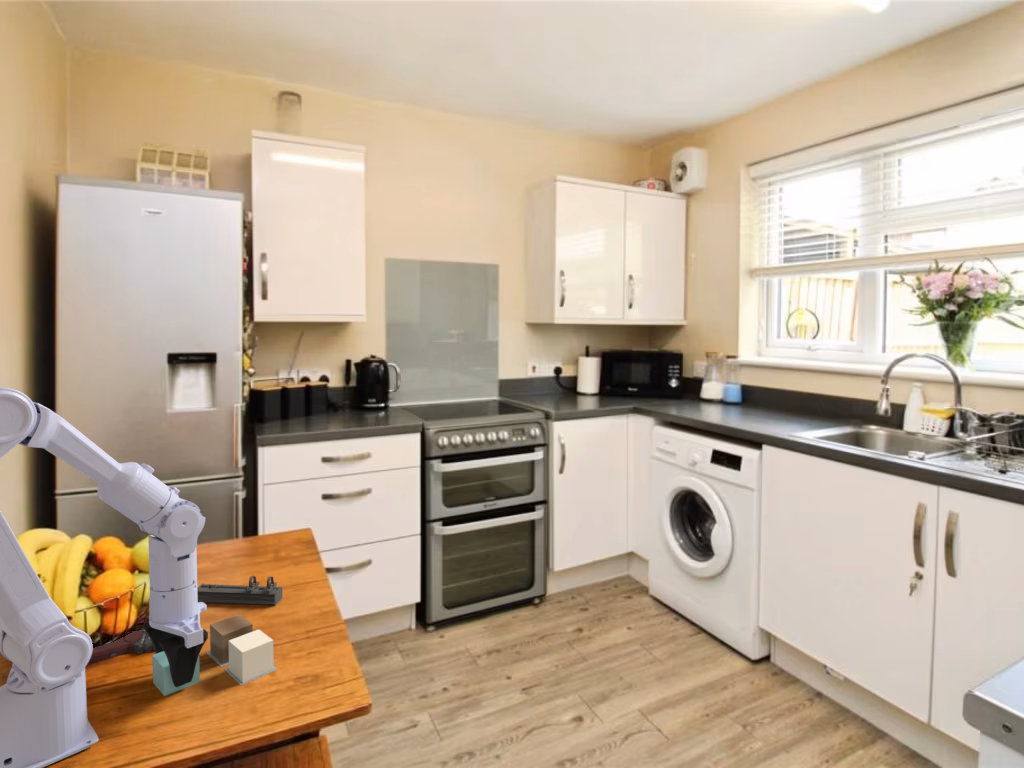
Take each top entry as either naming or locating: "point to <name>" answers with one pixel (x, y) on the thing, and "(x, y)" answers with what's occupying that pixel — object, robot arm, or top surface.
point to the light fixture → (241, 593)
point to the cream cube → (251, 655)
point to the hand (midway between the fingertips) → (176, 675)
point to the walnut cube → (227, 635)
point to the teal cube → (169, 675)
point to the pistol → (123, 646)
